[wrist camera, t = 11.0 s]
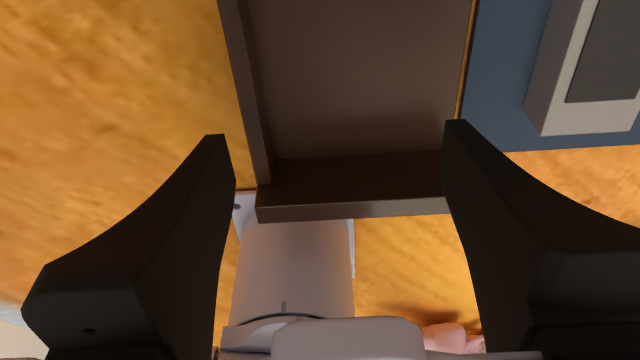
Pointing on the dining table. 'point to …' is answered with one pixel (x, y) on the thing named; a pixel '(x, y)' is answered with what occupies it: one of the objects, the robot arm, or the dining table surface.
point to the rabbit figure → (452, 339)
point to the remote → (586, 68)
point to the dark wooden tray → (346, 102)
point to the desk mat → (515, 80)
